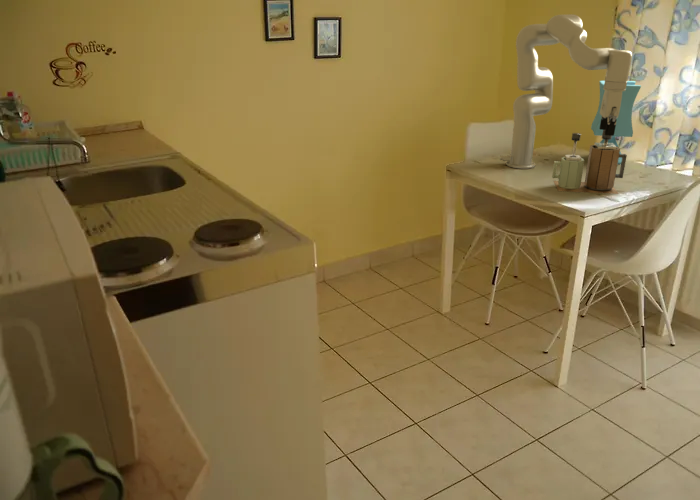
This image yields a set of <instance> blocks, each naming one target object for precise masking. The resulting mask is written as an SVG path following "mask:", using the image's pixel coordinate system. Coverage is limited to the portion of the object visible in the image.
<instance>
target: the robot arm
mask: <svg viewBox="0 0 700 500" xmlns="http://www.w3.org/2000/svg"><path fill="white" fill-rule="evenodd" d="M587 37H588V33H587V31H586V30H585V29H584V28H583V20H582V18H581V17H580V16H578V15H577V14H570V13H569V14H556V15H554V16H552V17H551V18H549V20H548V21H547V23H534V24H528V25H525V26H524V27H522V28H521V29H520V30H519V32H518V34H517V36H516V40H515V41H516V42H515V47H516V56H517V66H516V67H517V70H516V71H517V72H516V74H517V75H516V77H517V79H516V81H517V87H518V89H519V90H520V91H524V92H528V91H529V92H530V91H534V93H526V94H522V95H519V96H517V97H516V98H515V99H514V101H513V104H512V105H513V106H512V107H513V108H512V110H513V128H512V140H511V149H510V153H509V155H500V156H499V160H500V161H503V162H505V161H506V166H507V167H509V168H513V169H519V170H520V169H521V170H523V169H533V168H534V167H535V166H536V163H535V162H533V156H534V155H533V154H534V146H535V139H536V129H537V127H536V121H535V119H534V117H536V116H543V115H545V114H548V113H549V112H550V111H551V109H552V106H553V97H554V96H553V95H554V76H553V73H552V71H551V69H549V68H548V67H544V66H539V55H538V51H537V50H536V48H535V47H538V46H553V45H557V44H561V45H563V46H564V47H565V48H566V49H568V54H569V56H570V59H571V60H572V61H573V62H574V63H575V64H576V65H578V66H579V67H580V68H582V69H584V70H587V71H595V70H606V73H605V79H604V81H605V83H604V90H605V92H604V95H603V100H602V104H601V109H600V114H601V115H602V119H601V123H600V128H599V129H600V130H605V135H609V136H613V135H614V132H615V127H616V121H617V119H616V118H618V115H619V111H620V106H621V99H622V91H625V90H626V85H627V81H629V74H630V69H631V63H632V58H633V53H632V51H630V50H627V49H625V50H624V49H620V50H619V49H616V48H613V47H598V48H597V47H596V48H592V47H590V46H588V45H587V44H586V41H587Z"/></svg>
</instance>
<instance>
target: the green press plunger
mask: <svg viewBox="0 0 700 500" xmlns="http://www.w3.org/2000/svg"><path fill="white" fill-rule="evenodd" d="M581 135H582V133H578V132H572V134H571V141H573V145H572V147H573V148H572V153H571V155H572V157H575V155H576V150H577V142H579V141H581Z"/></svg>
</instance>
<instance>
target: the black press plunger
mask: <svg viewBox="0 0 700 500" xmlns="http://www.w3.org/2000/svg"><path fill="white" fill-rule="evenodd" d="M611 138H612V136H609V135H605V130H603V133H602V136H601V140H602V139H605V140H604V146H607V143H608V140H609V139H611ZM603 150H606V149H603Z"/></svg>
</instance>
